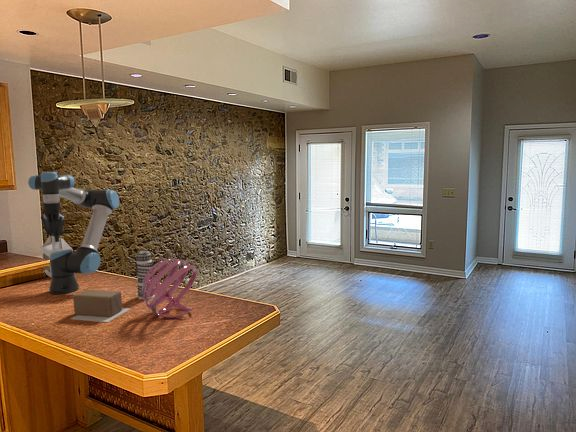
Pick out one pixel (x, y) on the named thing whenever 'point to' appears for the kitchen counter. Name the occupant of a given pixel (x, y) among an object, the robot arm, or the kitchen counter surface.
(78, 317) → the mat
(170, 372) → the kitchen counter surface
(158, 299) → the spiral basket
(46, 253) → the gable box
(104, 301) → the wooden block
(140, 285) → the decorative candle
